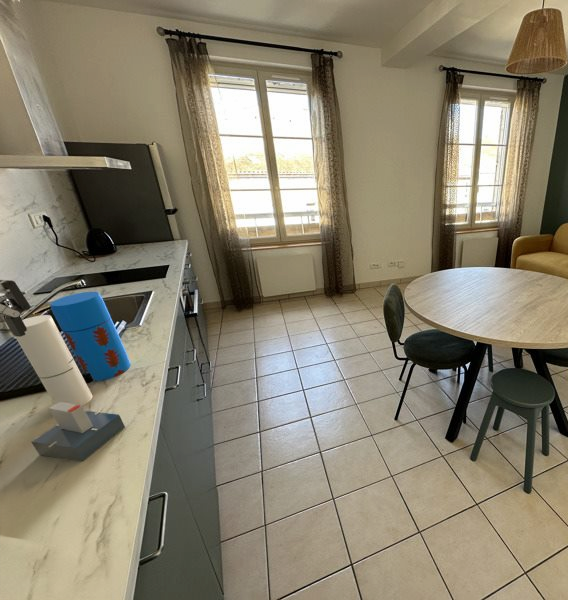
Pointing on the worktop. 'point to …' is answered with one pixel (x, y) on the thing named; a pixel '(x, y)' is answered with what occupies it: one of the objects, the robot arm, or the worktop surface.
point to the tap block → (79, 437)
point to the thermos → (91, 334)
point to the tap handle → (71, 417)
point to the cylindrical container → (53, 361)
